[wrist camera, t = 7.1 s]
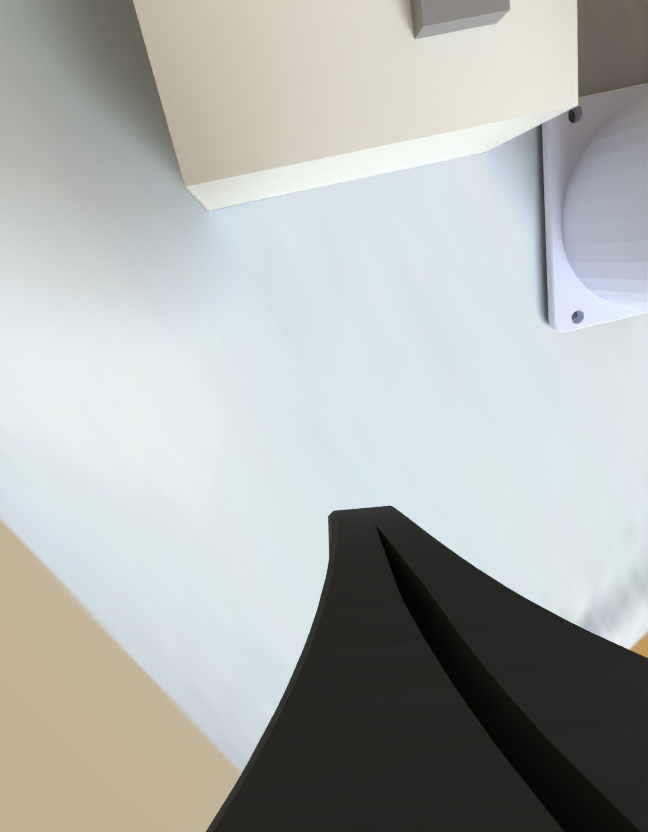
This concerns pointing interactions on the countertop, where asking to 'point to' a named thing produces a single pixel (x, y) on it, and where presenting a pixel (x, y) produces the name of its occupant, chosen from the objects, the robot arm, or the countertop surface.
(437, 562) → the robot arm
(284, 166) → the camera box
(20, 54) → the countertop surface
